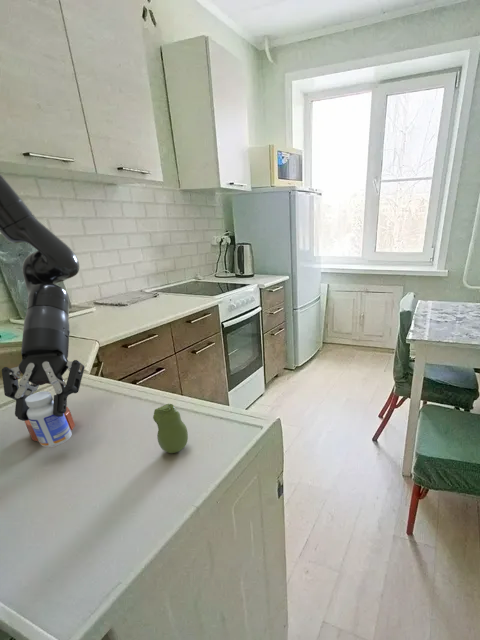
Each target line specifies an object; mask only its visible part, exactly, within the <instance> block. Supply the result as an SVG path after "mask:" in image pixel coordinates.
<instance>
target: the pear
mask: <svg viewBox="0 0 480 640" xmlns="http://www.w3.org/2000/svg"><path fill="white" fill-rule="evenodd" d="M152 419H153V421H154V423H156V427H157V437H156V439H157V442H158V445H159V447H160V448H161V450H162V451H164V452H166V453H169V454H176V453H179V452H181V451H182V450H183V449H185V447H186V446H187V444H188V441H189V440H188V439H189V433H188V429H187V425H186V424H185V422H184V421H183V420H182V418H181V414H180V412H179V411H178V410H177V409H176V407H175V405H174V404H173V403H166V404H164V405H161V406H160V407H158V408H155V409H154V411H153V416H152Z"/></svg>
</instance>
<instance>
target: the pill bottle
mask: <svg viewBox="0 0 480 640" xmlns="http://www.w3.org/2000/svg"><path fill="white" fill-rule="evenodd" d="M25 401H26V404H27V406H28V407H29V409H28V410H27V416H28V419H29V421H30V423H31V425H32V427H33V430H34V432H35V434H36V436H37V438H38V440H39V442H38V443H39V444H40V446H42V447H45V448H53V447H56V446H59V445H62V444H64V443H65V442H67V441H68V440H70V439H71V437H72V434H73V433H72V430H70V428H69V425H68V423H67V420H66V418H65V416H64V413H63V416H61V417H57V416H55V415H54V414H53V403H54V397H53V396H52V393H51V392H50V391H46V390H45V391H44V390H43V391H36V392H33V394H32V395H30V396H28V397H27V398H26V399H25Z"/></svg>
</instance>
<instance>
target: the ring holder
mask: <svg viewBox="0 0 480 640" xmlns="http://www.w3.org/2000/svg"><path fill="white" fill-rule="evenodd" d="M64 416H65V418H66V420H67V423H68V425H69V428H70V430H71V431H73V430H74V428H75V427H76V423H75V421H74V418H73V415H72V413H71V410H70V408H69V407H68V406H67V407H66V412H65V413H64ZM24 424H25V426H26V428H27V431H28V433H29V435H30V437H31V439H32V441H34V442H38V443H39V440H38V438H37V436H36V434H35V432H34V430H33V427H32V425H31V423H30V421H29V420H27V421H24Z"/></svg>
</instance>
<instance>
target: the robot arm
mask: <svg viewBox="0 0 480 640" xmlns="http://www.w3.org/2000/svg"><path fill="white" fill-rule="evenodd" d="M0 234H1V235H2V236H3V237H4V239H5V240H7V242H9V243H12V244H16V245H17V244H28V245H30V246H31V247H32V248H34V249H35V250H36V251H33V252H32V253H30V254H28V255H26V257H25V258H24V260H23V263H22V270H21V271H22V275H23V279H24V284H25V288H26V291H27V294H28V296H27V306H26V314H25V317H24V322H23V327H22V328H23V330H22V340H21V349H20V350H21V351H20V354H21V361H20V363H19V364H18V366H15V367H11V368H9V367H8V366H4V367H3V368H1V377H2V386H3V393H4V396H5V397H7V398H10V399H12V400H15V409H14V416H15V417H16V418H17V420H20V421H22V422H25V421H27V420H29V419H28V416H27V410H28V409H29V407H28V406H27V404H26V401H25V399H26V398H27V397H28V396H30V395H32V394H34V393H36V392H37V390H38V388H39V386H43V385H45V384H46V385H47V384H48V385H52V388H53V389H54V390H53V391H54V393H55V394H54V395H53V401H54V403H53V414H54V415H55V416H57V417H61V416H63V413H65V412H66V407H68V406H67V405H68V397H69V396H70V395H72V394H78V393H79V391H80V388H81V383H82V379H83V375H84V371H85V365H84V364H83V363H82V362H81V361H79V360H78V359H73V360H72V361H70V360H68V358H69V350H70V349H69V347H70V335H71V331H70V320H69V319H70V296H69V293H68V292H67V291H66V289H65V288H64V287H62V286H60V285H58V284H59V283H62V282H64V281H66V280H69V279H72V278H74V277H75V276H77V275H78V274H79V272H80V262H79V259H78V257H77V255H76V254H75V252H74V251H73V249H72V248H71V247H70V246H68V244H66V242H64V241H63V240H62V239H61V238H59V237H58V236H57V235H56V234H55V233H53V232H52V231H51V230H50V229H49V228H48V227H46V225H44V224H43V223H42V222H41V221H40V220H38V218H36V216H35V214H33V212H32V210H31V209H30V208H29V207H28V205H27V204H26V203H25V202H24V200H23V199H22V198H21V197H20V196H19V194H18V192H16V191H15V189H14V188H13V186H11V184H10V183H9V182H8V181H7V180H6V179H5V177H4V176H3V175H2V174H1V173H0ZM67 370H68V371H69V372H68V376H67V380H66V381H65V379H64V377H63V375H64V374H65V373H66V372H67ZM21 374H22V377H21ZM19 380H20V381H19Z"/></svg>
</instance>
